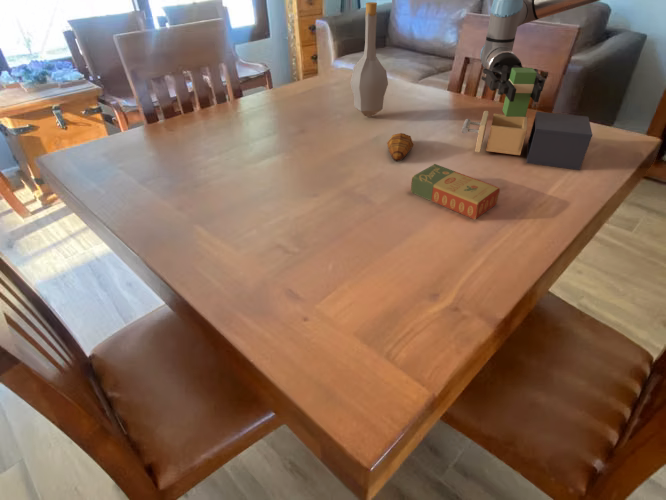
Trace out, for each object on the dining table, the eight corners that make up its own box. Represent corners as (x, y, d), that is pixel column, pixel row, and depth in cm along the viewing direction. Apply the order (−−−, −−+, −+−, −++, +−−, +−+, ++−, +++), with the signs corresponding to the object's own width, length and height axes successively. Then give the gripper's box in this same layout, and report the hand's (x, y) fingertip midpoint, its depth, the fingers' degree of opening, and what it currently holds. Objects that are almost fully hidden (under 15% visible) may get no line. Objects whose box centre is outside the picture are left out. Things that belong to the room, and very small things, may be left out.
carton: (474, 221, 83) (478, 202, 81) (409, 192, 93) (410, 174, 90) (496, 204, 88) (501, 186, 85) (432, 179, 97) (434, 161, 94)
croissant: (411, 164, 103) (412, 145, 100) (383, 162, 104) (384, 143, 101) (414, 142, 113) (416, 123, 110) (389, 140, 115) (390, 122, 112)
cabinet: (526, 163, 102) (535, 128, 97) (527, 144, 111) (536, 111, 105) (579, 170, 99) (592, 134, 94) (576, 150, 107) (588, 116, 102)
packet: (521, 110, 104) (532, 67, 98) (525, 117, 100) (537, 72, 94) (502, 110, 104) (511, 67, 98) (505, 116, 101) (515, 72, 95)
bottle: (341, 116, 129) (340, 3, 111) (368, 107, 135) (371, -2, 117) (367, 126, 122) (370, 8, 104) (394, 117, 128) (402, 2, 110)
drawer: (457, 149, 107) (461, 123, 103) (463, 134, 115) (467, 108, 110) (519, 157, 103) (526, 130, 98) (521, 141, 110) (528, 115, 106)
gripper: (534, 81, 114) (562, 113, 96) (467, 81, 116) (481, 111, 98) (542, 51, 110) (572, 78, 91) (471, 51, 111) (488, 77, 93)
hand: (525, 95), depth 94 cm, fingers closed on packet, 5 cm apart
